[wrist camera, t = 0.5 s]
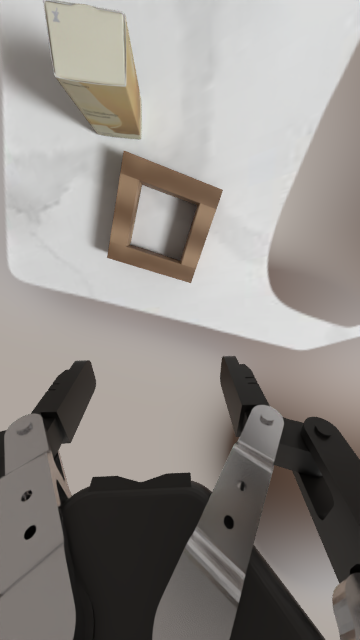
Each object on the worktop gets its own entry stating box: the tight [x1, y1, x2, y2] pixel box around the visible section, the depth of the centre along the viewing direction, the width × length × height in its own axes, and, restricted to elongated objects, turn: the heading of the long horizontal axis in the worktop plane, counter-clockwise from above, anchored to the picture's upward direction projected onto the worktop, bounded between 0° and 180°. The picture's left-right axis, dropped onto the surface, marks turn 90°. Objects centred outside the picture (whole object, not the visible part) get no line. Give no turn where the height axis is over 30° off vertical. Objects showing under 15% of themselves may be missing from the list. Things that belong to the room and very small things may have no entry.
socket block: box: [107, 151, 223, 283], centre depth 31 cm, size 14×14×4 cm
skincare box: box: [43, 0, 142, 139], centre depth 21 cm, size 6×4×12 cm
